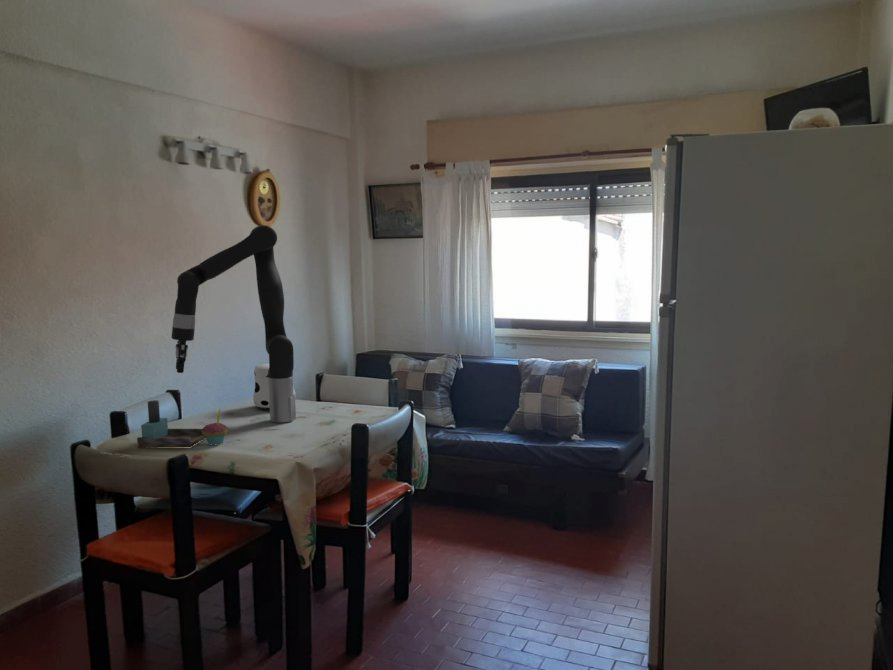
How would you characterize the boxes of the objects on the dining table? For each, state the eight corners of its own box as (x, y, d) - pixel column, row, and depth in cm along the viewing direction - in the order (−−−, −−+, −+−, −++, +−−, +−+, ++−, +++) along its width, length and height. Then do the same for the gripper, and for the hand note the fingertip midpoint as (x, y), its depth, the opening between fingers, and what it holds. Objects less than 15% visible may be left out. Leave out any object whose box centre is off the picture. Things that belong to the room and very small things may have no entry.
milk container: (291, 412, 271) (289, 368, 269) (248, 412, 271) (246, 369, 269) (299, 402, 288) (298, 362, 286) (260, 403, 288) (258, 362, 286)
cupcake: (230, 439, 230) (228, 406, 229) (226, 446, 222) (224, 411, 220) (204, 441, 229) (202, 407, 227) (199, 447, 220) (197, 412, 219)
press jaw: (168, 434, 231) (165, 398, 230) (153, 442, 221) (151, 404, 220) (157, 434, 231) (154, 398, 230) (142, 442, 221) (139, 404, 220)
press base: (206, 438, 232) (205, 428, 231) (190, 448, 219) (189, 438, 219) (156, 438, 233) (155, 428, 233) (137, 448, 220) (137, 438, 220)
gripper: (196, 329, 233) (191, 374, 234) (193, 325, 246) (189, 368, 247) (173, 327, 230) (168, 373, 231) (171, 324, 243) (167, 367, 244)
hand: (179, 370), depth 239 cm, fingers open, 8 cm apart
